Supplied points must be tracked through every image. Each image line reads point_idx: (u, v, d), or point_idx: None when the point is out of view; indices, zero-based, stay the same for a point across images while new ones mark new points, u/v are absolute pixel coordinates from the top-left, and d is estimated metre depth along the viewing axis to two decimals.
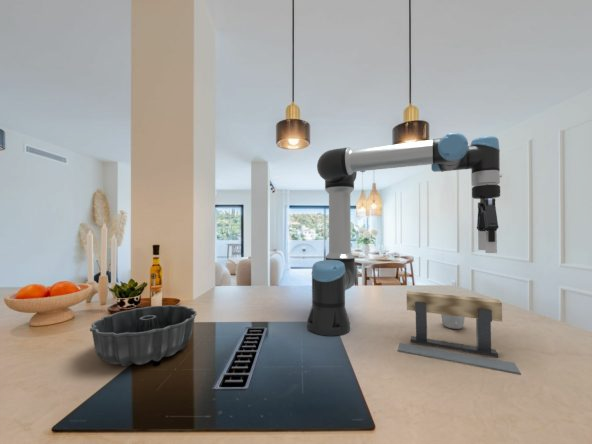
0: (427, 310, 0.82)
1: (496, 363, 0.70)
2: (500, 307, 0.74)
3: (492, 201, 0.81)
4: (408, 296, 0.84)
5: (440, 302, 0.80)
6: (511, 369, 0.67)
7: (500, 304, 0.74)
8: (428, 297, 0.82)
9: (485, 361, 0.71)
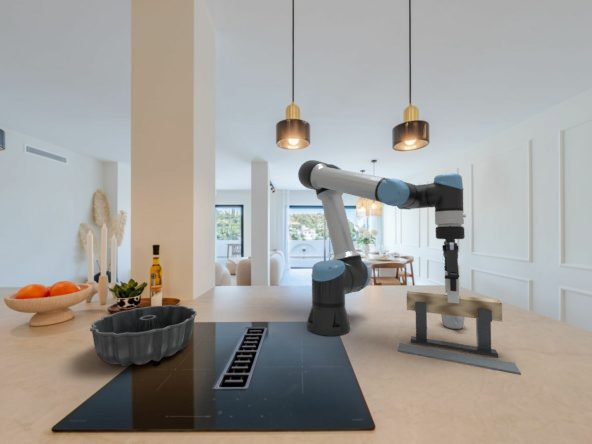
0: (427, 310, 0.82)
1: (496, 363, 0.70)
2: (500, 307, 0.74)
3: (454, 246, 0.75)
4: (408, 296, 0.84)
5: (440, 302, 0.80)
6: (511, 369, 0.67)
7: (500, 304, 0.74)
8: (428, 297, 0.82)
9: (485, 361, 0.71)
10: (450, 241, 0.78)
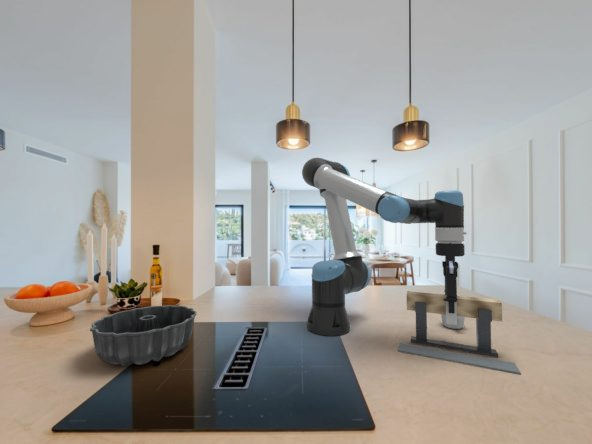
0: (427, 310, 0.82)
1: (496, 363, 0.70)
2: (500, 307, 0.74)
3: (453, 271, 0.75)
4: (408, 296, 0.84)
5: (440, 302, 0.80)
6: (511, 369, 0.67)
7: (500, 304, 0.74)
8: (428, 297, 0.82)
9: (485, 361, 0.71)
10: (450, 258, 0.78)
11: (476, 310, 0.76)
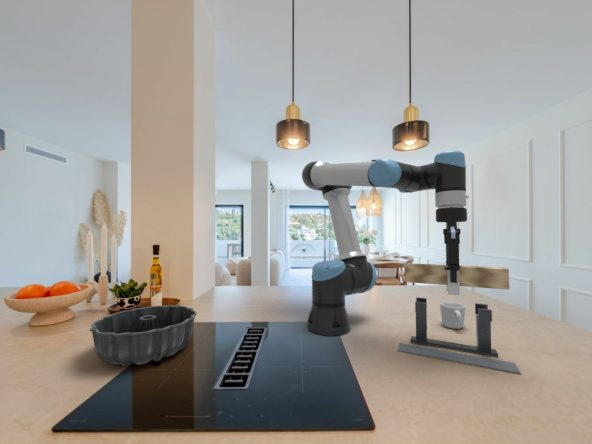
0: (427, 281, 0.75)
1: (496, 363, 0.70)
2: (507, 274, 0.68)
3: (455, 236, 0.69)
4: (407, 267, 0.78)
5: (441, 272, 0.74)
6: (511, 369, 0.67)
7: (507, 271, 0.68)
8: (428, 267, 0.75)
9: (485, 361, 0.71)
10: (451, 223, 0.72)
11: (481, 278, 0.70)
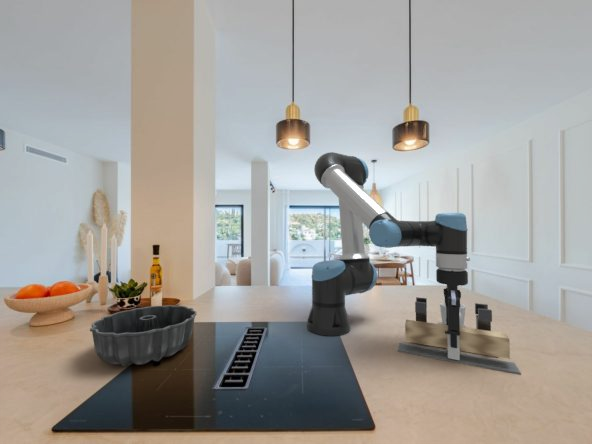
0: (427, 342, 0.75)
1: (496, 363, 0.70)
2: (507, 343, 0.67)
3: (456, 303, 0.69)
4: (407, 326, 0.78)
5: (441, 334, 0.74)
6: (511, 369, 0.67)
7: (507, 340, 0.67)
8: (428, 328, 0.75)
9: (485, 361, 0.71)
10: (452, 288, 0.71)
11: (481, 345, 0.70)
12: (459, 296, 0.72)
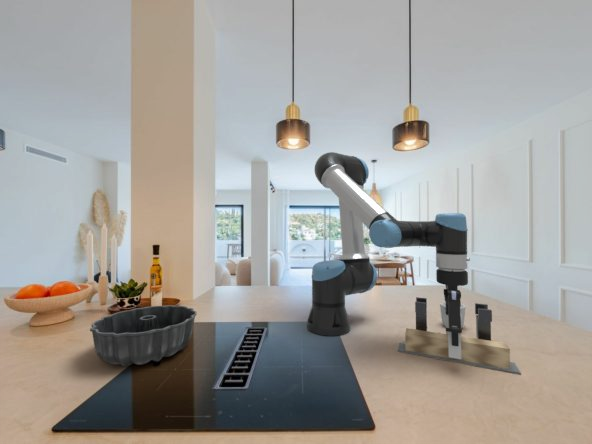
0: (427, 352, 0.75)
1: None
2: (508, 353, 0.67)
3: (456, 296, 0.68)
4: (407, 335, 0.77)
5: (442, 344, 0.74)
6: (511, 369, 0.67)
7: (508, 350, 0.67)
8: (429, 338, 0.75)
9: None
10: (452, 288, 0.71)
11: (481, 355, 0.69)
12: (459, 295, 0.72)
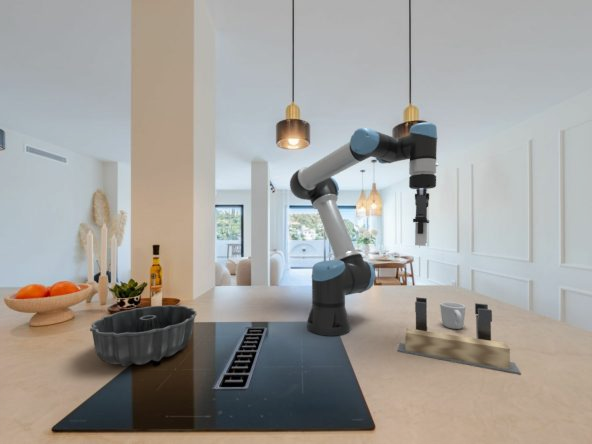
0: (427, 352, 0.75)
1: None
2: (508, 353, 0.67)
3: (423, 191, 0.77)
4: (407, 335, 0.77)
5: (442, 344, 0.74)
6: (511, 369, 0.67)
7: (508, 350, 0.67)
8: (429, 338, 0.75)
9: None
10: (421, 188, 0.80)
11: (481, 355, 0.69)
12: (427, 195, 0.81)
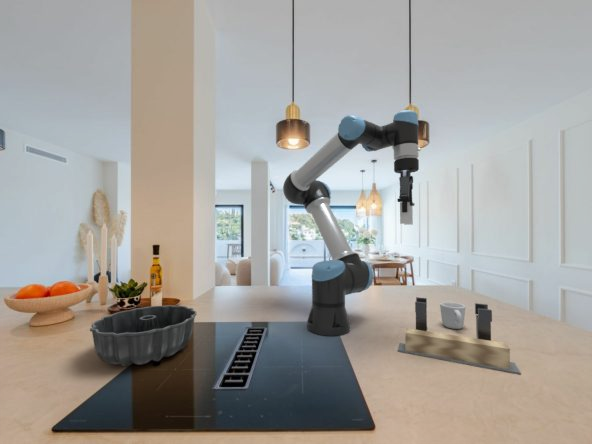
0: (427, 352, 0.75)
1: None
2: (508, 353, 0.67)
3: (406, 173, 0.83)
4: (407, 335, 0.77)
5: (442, 344, 0.74)
6: (511, 369, 0.67)
7: (508, 350, 0.67)
8: (429, 338, 0.75)
9: None
10: None
11: (481, 355, 0.69)
12: (411, 177, 0.86)
